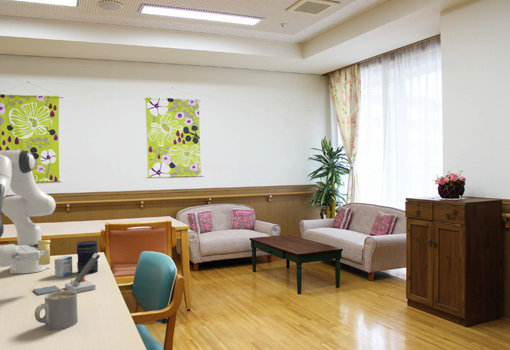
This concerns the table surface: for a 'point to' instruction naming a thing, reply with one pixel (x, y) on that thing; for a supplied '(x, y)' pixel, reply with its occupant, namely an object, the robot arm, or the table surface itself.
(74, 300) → the coffee mug
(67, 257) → the medicine box
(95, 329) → the table surface
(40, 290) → the pad
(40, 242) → the yellow lidded cup
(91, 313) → the table surface
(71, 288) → the panel
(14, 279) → the table surface
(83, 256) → the storage jar
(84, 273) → the toggle
